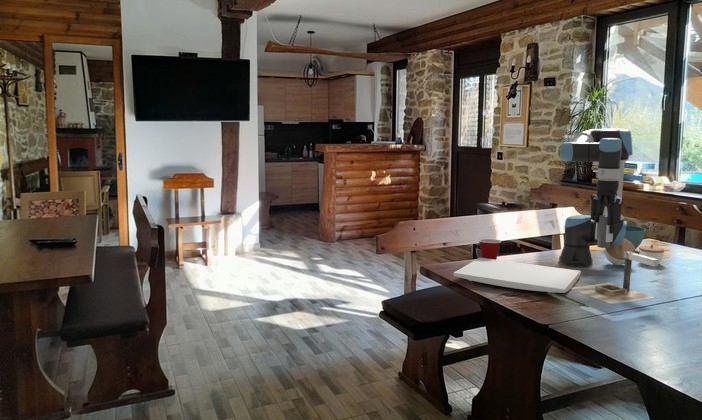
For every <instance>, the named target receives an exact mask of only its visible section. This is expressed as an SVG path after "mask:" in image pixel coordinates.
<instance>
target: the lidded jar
mask: <svg viewBox="0 0 702 420" xmlns="http://www.w3.org/2000/svg"><path fill="white" fill-rule="evenodd" d="M638 251H639V252H638V254H640V255H644V256H647V257H651V258H655V259H659V262H658V264H660V263H661V262H662V260H663V259H664V256H665V255H664V253H665V249H664V248H663V247H660V246H655V245H653V244H650V245H639V246H638Z"/></svg>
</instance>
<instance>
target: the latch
mask: <svg viewBox="0 0 702 420" xmlns="http://www.w3.org/2000/svg"><path fill="white" fill-rule="evenodd" d="M623 258H624V259H629V260H632V262H637V263H641V264H644V265H646V266H647V265H648V266H651V267H658V266H659V263H658V262H659V259H655V258H651V257H647V256H644V255H640V254H639V253H636V252H635V253H634V252H628V251H626V252H624V257H623Z"/></svg>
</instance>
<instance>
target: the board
mask: <svg viewBox="0 0 702 420" xmlns="http://www.w3.org/2000/svg"><path fill="white" fill-rule="evenodd" d="M581 273H582V271H581V270H576V269H568V268H561V267H553V266H547V265H546V266H545V265H540V264H539V265H537V264H531V263H525V262H523V263H522V262H518V261H517V262H516V261H508V260H501V259H496V260H494V259H487V258H482V257H478V258H477V259H475V260H473V261H471V262H470V263H467V264H466V265H464V266H463V267H461V268H459V269H458V270H455V271H454V272H453V275H452V276H454V277H457V278H461V279H465V280H468V281H469V282H470V281H474V282H477V283H483V284H488V285H493V286H499V287H504V288H509V289H510V288H511V289H517V290H518V289H519V290H525V291H536V292H544V293H545V292H546V293H547V294H549V295H551V296H552V294H555V293H558V294H559V293H560V294H561V293H564V294H565V293H566V292H568V291H569V290H571V289H570V288H572V287H574V285H576V283H577V281H578V280H579V278H580V276H581Z"/></svg>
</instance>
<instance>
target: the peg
mask: <svg viewBox="0 0 702 420" xmlns="http://www.w3.org/2000/svg"><path fill="white" fill-rule="evenodd" d="M607 224H609V222H608V215H599V228H598V242H597V244H596V245H597V248H601V249H605V248H610V242H606V228H607Z"/></svg>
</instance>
